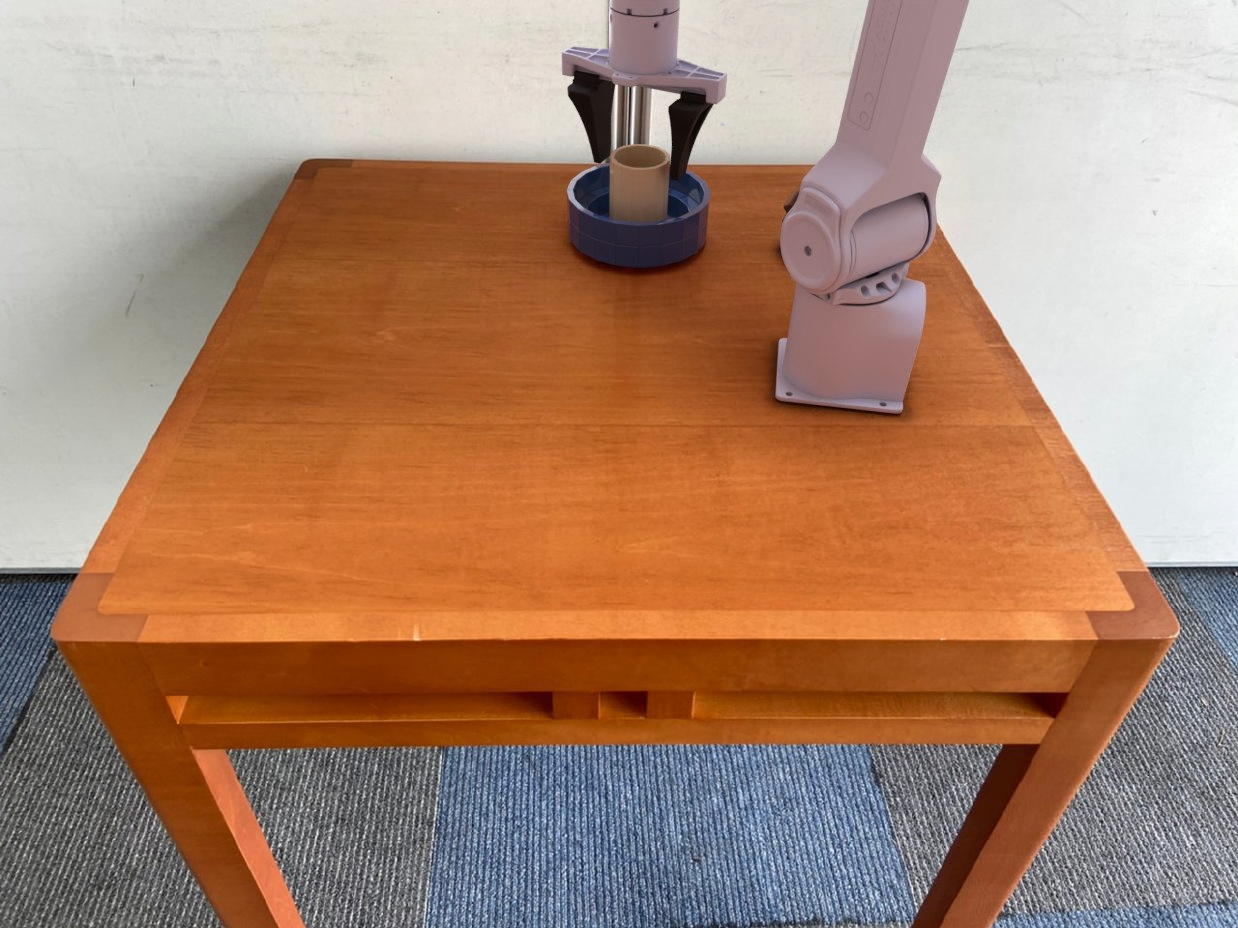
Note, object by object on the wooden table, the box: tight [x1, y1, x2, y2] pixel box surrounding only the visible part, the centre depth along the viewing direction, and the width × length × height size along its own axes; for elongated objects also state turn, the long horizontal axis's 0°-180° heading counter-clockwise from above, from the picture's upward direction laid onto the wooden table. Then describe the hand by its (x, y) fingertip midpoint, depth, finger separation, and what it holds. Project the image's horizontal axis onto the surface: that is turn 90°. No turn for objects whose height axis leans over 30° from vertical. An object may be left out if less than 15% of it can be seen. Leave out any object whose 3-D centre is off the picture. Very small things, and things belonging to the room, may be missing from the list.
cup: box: [609, 143, 671, 222], centre depth 84 cm, size 5×5×8 cm
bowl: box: [566, 162, 712, 269], centre depth 85 cm, size 13×13×5 cm
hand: (639, 167), depth 82 cm, fingers open, 7 cm apart
